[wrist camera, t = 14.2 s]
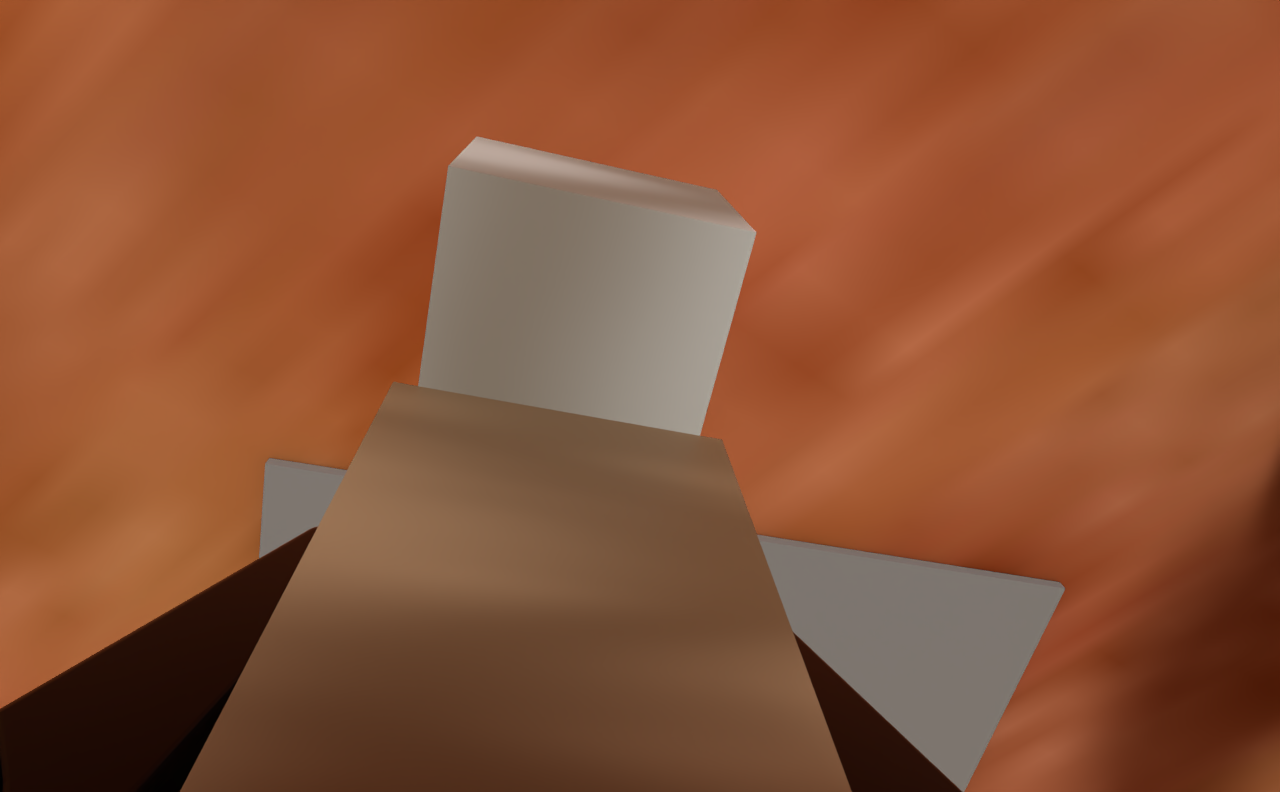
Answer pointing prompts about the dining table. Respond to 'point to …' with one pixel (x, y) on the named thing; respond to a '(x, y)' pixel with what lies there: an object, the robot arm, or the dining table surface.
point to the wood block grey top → (541, 528)
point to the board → (845, 623)
